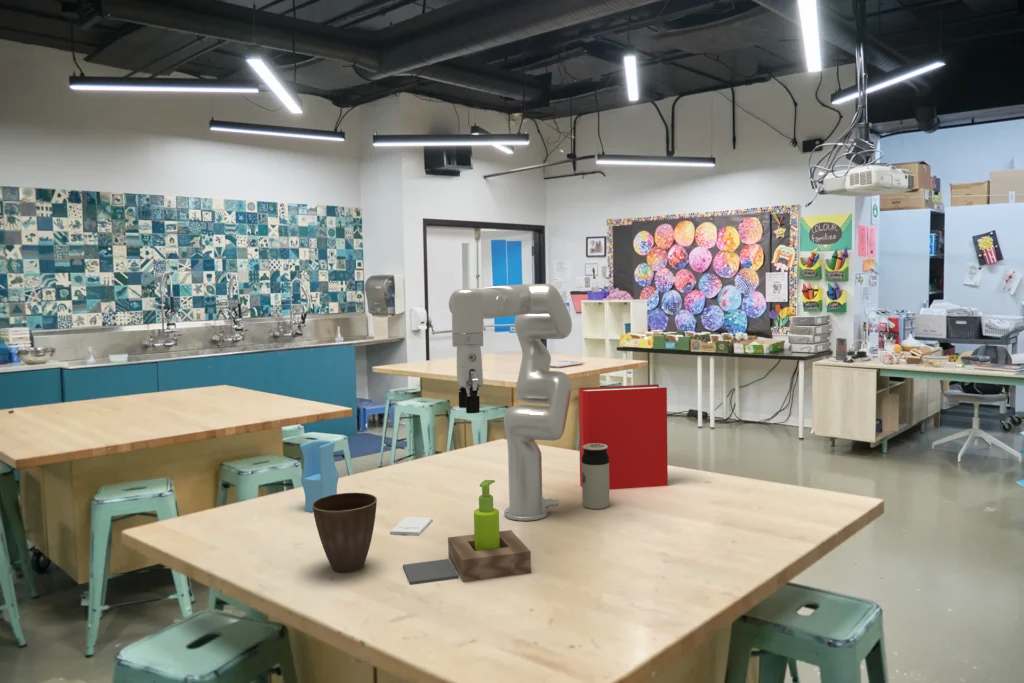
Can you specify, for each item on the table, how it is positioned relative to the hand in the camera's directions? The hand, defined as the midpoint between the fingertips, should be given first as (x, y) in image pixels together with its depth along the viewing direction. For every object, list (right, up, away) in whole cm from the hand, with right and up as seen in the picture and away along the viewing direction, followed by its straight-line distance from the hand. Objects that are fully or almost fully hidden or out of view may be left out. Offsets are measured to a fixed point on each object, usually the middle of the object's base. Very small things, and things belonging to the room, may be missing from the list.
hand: (469, 410), depth 186 cm
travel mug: (+35, -32, +39) cm, 62 cm away
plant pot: (-29, -37, -5) cm, 47 cm away
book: (+47, -30, +61) cm, 83 cm away
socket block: (+5, -36, -6) cm, 37 cm away
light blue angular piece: (-47, -34, +43) cm, 72 cm away
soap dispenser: (+5, -36, -6) cm, 37 cm away
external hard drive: (-17, -35, +23) cm, 45 cm away
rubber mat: (-8, -37, -10) cm, 39 cm away
